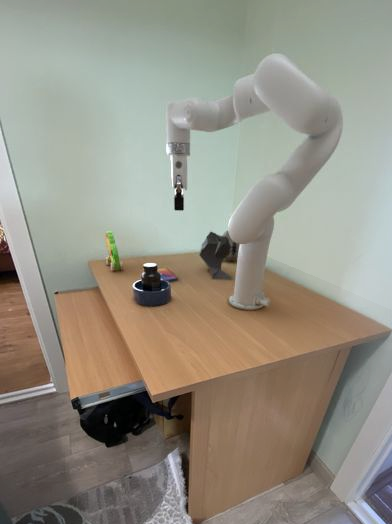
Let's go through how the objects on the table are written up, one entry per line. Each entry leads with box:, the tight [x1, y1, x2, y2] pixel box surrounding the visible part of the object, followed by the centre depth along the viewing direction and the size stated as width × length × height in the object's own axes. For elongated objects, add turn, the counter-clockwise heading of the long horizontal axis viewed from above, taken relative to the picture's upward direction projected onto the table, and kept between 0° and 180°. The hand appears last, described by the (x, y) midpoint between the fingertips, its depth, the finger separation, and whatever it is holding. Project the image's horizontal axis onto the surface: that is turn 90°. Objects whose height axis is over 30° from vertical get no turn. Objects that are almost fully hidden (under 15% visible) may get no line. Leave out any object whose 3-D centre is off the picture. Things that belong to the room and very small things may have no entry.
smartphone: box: [157, 266, 178, 282], centre depth 128 cm, size 7×15×1 cm, turn 23°
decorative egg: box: [221, 230, 240, 262], centre depth 145 cm, size 12×12×15 cm
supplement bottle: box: [140, 262, 162, 291], centre depth 104 cm, size 7×7×12 cm
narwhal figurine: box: [199, 231, 233, 280], centre depth 128 cm, size 14×15×18 cm
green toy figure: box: [105, 231, 124, 272], centre depth 133 cm, size 16×5×15 cm, turn 25°
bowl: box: [132, 279, 172, 307], centre depth 106 cm, size 13×13×6 cm
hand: (179, 208), depth 105 cm, fingers open, 9 cm apart
